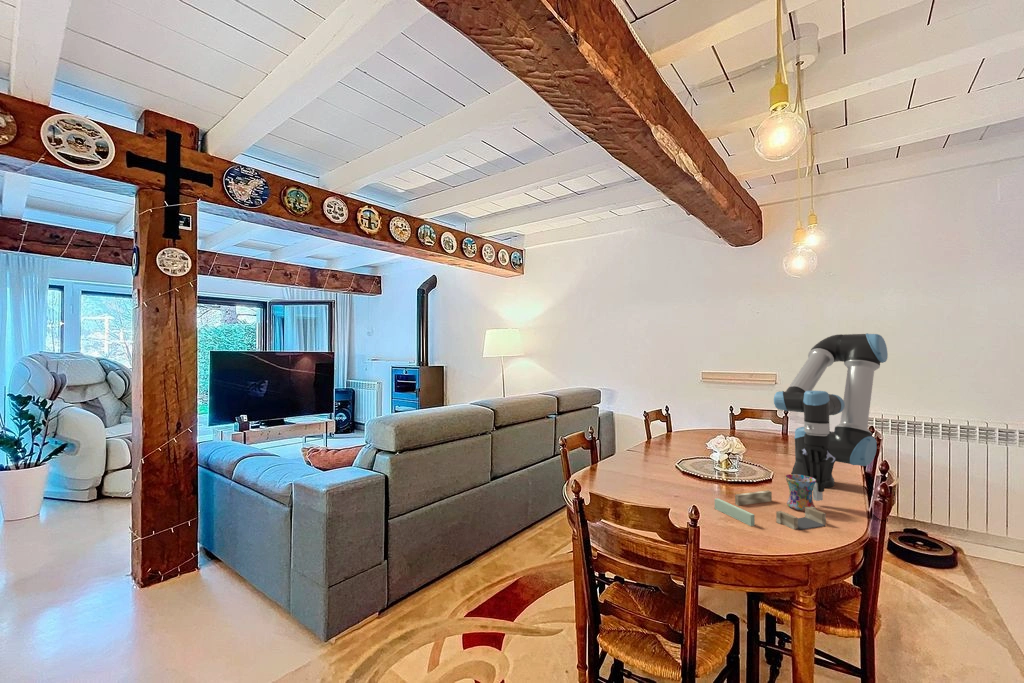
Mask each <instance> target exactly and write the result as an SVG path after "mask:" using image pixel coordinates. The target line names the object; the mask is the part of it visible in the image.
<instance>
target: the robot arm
mask: <svg viewBox="0 0 1024 683" xmlns="http://www.w3.org/2000/svg"><path fill="white" fill-rule="evenodd" d="M888 358H889V356H888V347H887V343H886V341H885V338H884V337H883V336H882V335H881V334H878V333H852V334H849V333H848V334H847V333H846V334H833V335H831V336H827V337H826V338H823V339H822V340H820V341H819V342H817V343H815V344H814V346H812V347H811V349H810V351H809V352H808V354H807V360H806V361H805V362H804V364H803V365H802V367H801V368H800V370H799V371H798V373H797V374H796V375H795V377H794V378H793V380H792V382H790V385H789V386H788V388H786V390H785V391H783V390H782V391H776V392H775V394H774V396H773V405H774V407H775V408H776V409H777V410H780V411H786V412H796V413H803V414H804V415H803V417H804V418H803V419H804V420H803V421H804V422H803V425H804V426H801V427H800V426H799V427H797V428H796V429H795V430H794V454H795V455H794V457H795V458H794V459H795V461H794V465H793V467H792V470H791V472H790V474H797V475H804V476H809V477H812V478H814V479H816V483H815V485H814V487H813V491H812V500H813V501H816V502H820V501H824V499H823V498H824V497H823V496H824V495H823V493H824V492H825V488H831V487H834V486H835V478H834V477H833V474H832V473H833V469H834V466H835V462H837V463H844V464H848V465H852V466H860V467H861V466H862V467H866V466H869V465H870V464H872V462H873V461H874V459H875V456H876V454H877V448H878V446H877V439H876V438H875V437H873V436H872V434H873V433H872V432H871V431H870V430H869V428H868V425H869V424H868V423H869V416H870V411H871V410H870V409H871V400H872V393H873V392H872V391H873V385H874V384H873V383H874V378H875V376H874V375H875V371H877V370H878V369H880V367H881V363H886V362H887V360H888ZM837 362H843V365H844V366H845V367H846V368H847V370H846V379H845V386H844V393H843V398H842V397H841V396H839V395H837V394H833V393H832V394H831V393H829V392H828V391H826V390H814V389H815V387H816V385H817V383H818V382H819V380H820V379H821V378H822V376H823V375H824V373H825V371H826V370H827V368H828V367H831V366H832V365H833V364H834V363H837ZM840 413H841V415H840V422H839V424H837V425H835V426H834V431H830V428H831V427H830V416H835V415H837V414H840Z"/></svg>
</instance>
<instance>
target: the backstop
mask: <svg viewBox="0 0 1024 683" xmlns="http://www.w3.org/2000/svg"><path fill="white" fill-rule="evenodd" d="M714 509H715V510H717V511H718V512H721V513H723V514H725V515H727V516H729V517H732V518H733V519H735V520H737V521H739V522H742V523H744V524H745V525H747V526H749V527H754V526H756V524H755V523H756V522H755V520H756V518H755V514H754V513H751V512H749V511H747V510H745V509H743V508H741V507H738V506H736V505H734V504H731V503H730V502H728V501H725V500H723V499H720V498H718V497H717V498H714Z"/></svg>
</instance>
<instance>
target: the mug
mask: <svg viewBox="0 0 1024 683" xmlns="http://www.w3.org/2000/svg"><path fill="white" fill-rule="evenodd" d="M784 478H785V480H786V483H787V485H788V492H789V495H788V499H787V501H786V505H787V506H788V507H789V508H791V509H794V510H796V511H803V512H805V507H815V508H816V506H815V503H814V500H813V487H814V485H815V483H816V479H814V478H812V477H809V476H804V475H797V474H791V473H790V474H785V476H784Z"/></svg>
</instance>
